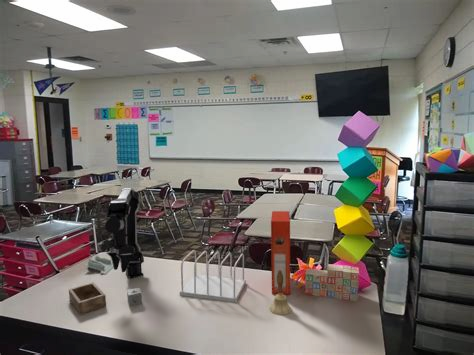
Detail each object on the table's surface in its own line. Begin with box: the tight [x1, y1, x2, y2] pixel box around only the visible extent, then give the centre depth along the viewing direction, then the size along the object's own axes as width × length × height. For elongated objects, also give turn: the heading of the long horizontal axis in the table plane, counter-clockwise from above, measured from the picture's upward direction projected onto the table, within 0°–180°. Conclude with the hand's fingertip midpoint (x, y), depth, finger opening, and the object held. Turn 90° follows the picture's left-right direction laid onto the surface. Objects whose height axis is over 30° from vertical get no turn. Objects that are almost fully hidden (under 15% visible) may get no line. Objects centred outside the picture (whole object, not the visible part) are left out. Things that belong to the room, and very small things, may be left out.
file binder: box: [270, 210, 291, 296], centre depth 152 cm, size 8×17×32 cm, turn 172°
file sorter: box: [179, 249, 247, 303], centre depth 150 cm, size 25×17×16 cm
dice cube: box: [126, 287, 143, 308], centre depth 140 cm, size 5×5×5 cm
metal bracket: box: [84, 255, 114, 275], centre depth 177 cm, size 14×6×15 cm
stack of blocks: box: [304, 263, 360, 302], centre depth 144 cm, size 21×6×12 cm, turn 72°
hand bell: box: [269, 270, 292, 316], centre depth 133 cm, size 8×8×16 cm
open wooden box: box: [68, 281, 107, 316], centre depth 140 cm, size 10×15×5 cm, turn 39°
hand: (119, 270), depth 138 cm, fingers open, 9 cm apart
